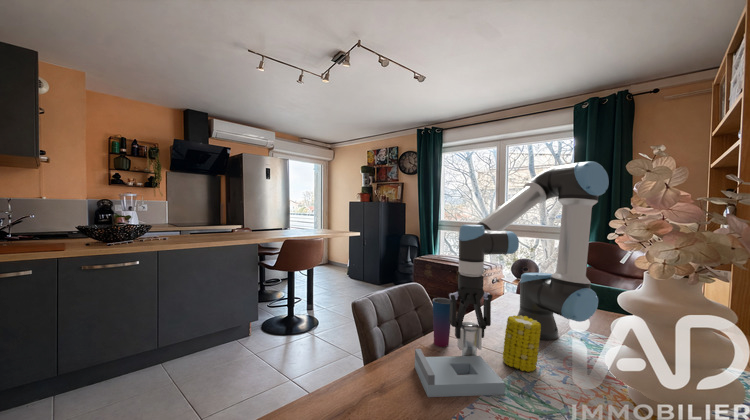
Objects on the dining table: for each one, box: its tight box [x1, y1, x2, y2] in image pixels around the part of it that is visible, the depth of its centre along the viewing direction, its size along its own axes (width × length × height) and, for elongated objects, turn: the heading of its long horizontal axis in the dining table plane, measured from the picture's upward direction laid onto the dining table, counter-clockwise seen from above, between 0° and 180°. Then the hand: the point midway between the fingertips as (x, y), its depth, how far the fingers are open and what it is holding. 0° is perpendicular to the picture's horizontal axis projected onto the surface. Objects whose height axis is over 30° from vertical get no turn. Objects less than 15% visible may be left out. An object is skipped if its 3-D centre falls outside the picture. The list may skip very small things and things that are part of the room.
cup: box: [432, 297, 451, 348], centre depth 104 cm, size 7×7×15 cm
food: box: [502, 315, 541, 373], centre depth 91 cm, size 15×12×10 cm
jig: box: [414, 348, 506, 398], centre depth 82 cm, size 20×14×5 cm
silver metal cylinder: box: [461, 321, 479, 356], centre depth 94 cm, size 5×5×10 cm
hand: (469, 347), depth 94 cm, fingers closed on silver metal cylinder, 5 cm apart
